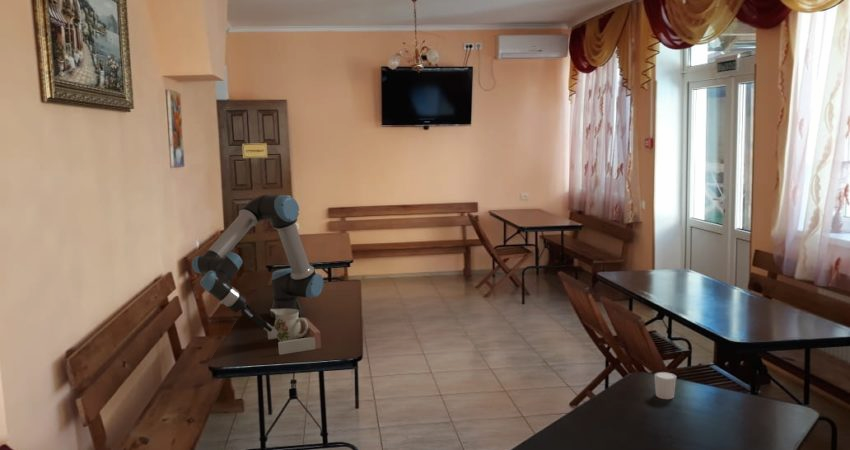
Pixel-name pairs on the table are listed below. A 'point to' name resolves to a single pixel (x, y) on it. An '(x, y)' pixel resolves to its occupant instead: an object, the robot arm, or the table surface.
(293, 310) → the pitcher
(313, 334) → the deck bay
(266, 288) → the table surface
